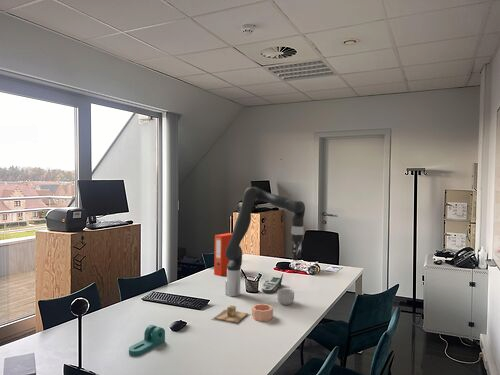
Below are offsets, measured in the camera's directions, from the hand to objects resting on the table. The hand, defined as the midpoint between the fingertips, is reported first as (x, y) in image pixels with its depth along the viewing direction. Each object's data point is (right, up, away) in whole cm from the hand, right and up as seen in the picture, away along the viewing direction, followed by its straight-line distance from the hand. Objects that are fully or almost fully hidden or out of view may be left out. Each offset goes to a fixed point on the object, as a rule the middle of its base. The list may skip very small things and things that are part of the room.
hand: (296, 259), depth 230 cm
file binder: (-50, -26, +73) cm, 92 cm away
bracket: (-78, -30, -58) cm, 102 cm away
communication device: (-15, -28, +33) cm, 46 cm away
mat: (-40, -29, -21) cm, 54 cm away
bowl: (-22, -29, -21) cm, 43 cm away
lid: (-40, -29, -21) cm, 53 cm away
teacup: (-7, -29, +4) cm, 30 cm away
